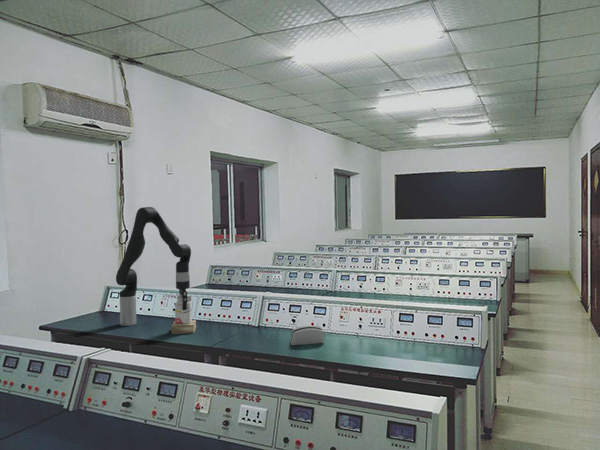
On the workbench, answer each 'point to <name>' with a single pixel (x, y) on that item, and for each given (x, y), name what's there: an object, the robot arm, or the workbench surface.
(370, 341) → the workbench surface
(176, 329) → the birch block
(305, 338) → the grey arched block
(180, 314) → the ink cartridge box
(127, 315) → the robot arm
